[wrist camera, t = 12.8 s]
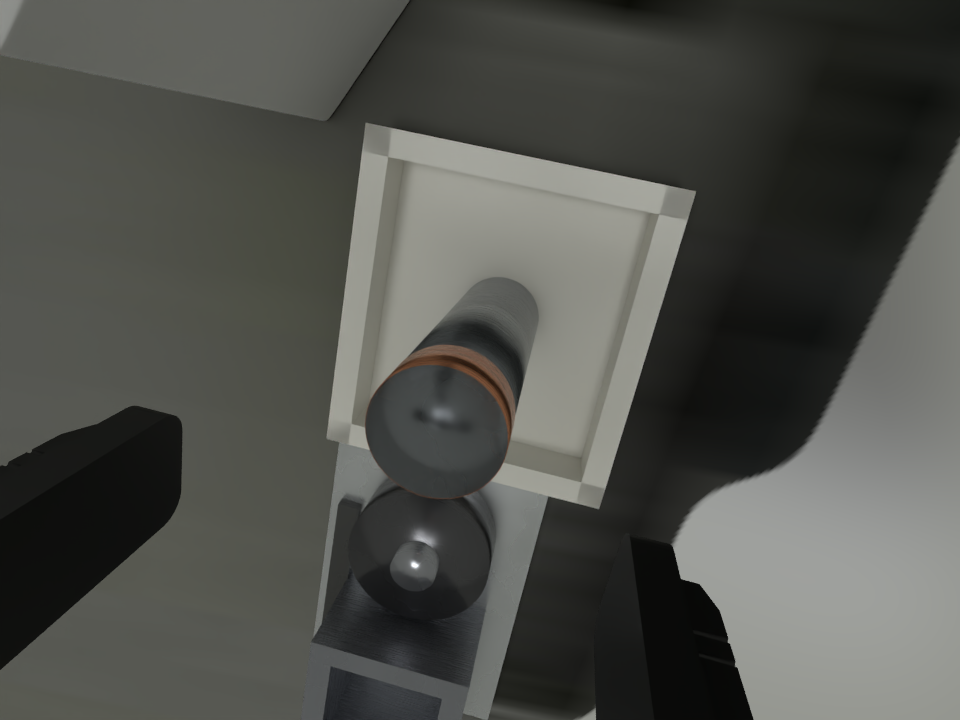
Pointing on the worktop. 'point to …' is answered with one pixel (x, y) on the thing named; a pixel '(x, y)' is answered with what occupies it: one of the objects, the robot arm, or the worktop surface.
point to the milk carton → (209, 45)
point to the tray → (525, 259)
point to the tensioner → (415, 597)
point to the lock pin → (456, 394)
